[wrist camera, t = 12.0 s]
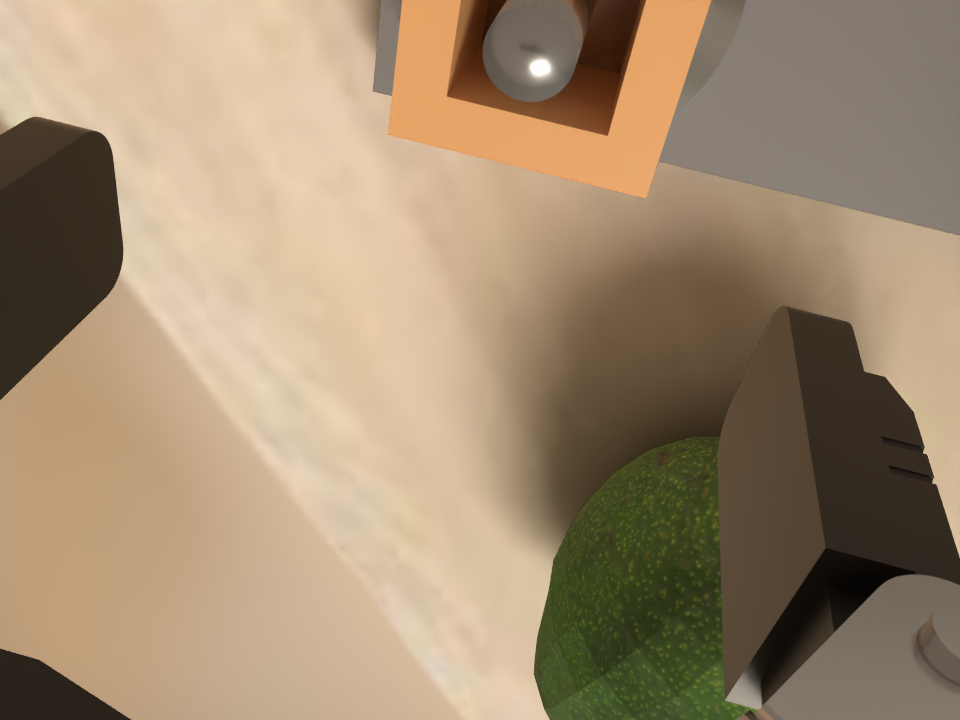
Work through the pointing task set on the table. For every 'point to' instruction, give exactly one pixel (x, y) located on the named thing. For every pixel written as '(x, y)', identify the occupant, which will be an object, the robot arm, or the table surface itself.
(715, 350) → the table surface
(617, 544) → the fruit
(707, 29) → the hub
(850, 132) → the board
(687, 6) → the collar
